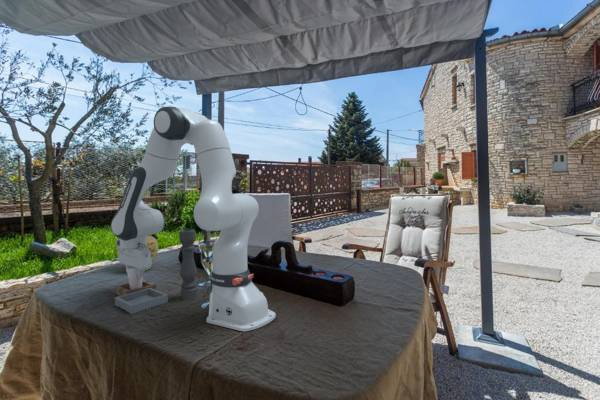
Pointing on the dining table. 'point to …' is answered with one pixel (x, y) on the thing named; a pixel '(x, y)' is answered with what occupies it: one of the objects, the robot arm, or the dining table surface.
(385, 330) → the dining table surface
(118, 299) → the tray
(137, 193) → the robot arm
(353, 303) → the dining table surface
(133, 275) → the smoothie
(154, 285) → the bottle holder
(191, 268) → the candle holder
